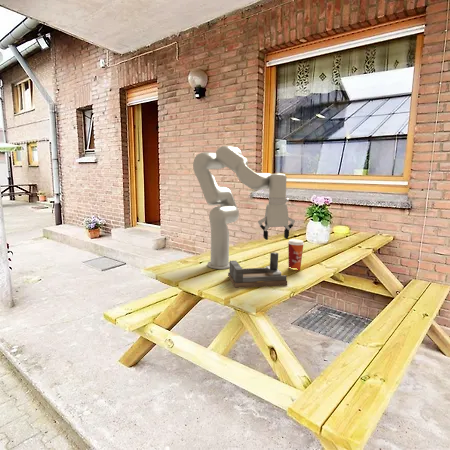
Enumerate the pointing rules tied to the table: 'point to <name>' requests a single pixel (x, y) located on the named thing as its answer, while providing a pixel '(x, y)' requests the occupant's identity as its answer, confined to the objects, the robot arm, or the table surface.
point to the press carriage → (273, 265)
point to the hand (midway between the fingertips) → (276, 238)
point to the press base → (253, 277)
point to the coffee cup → (295, 253)
